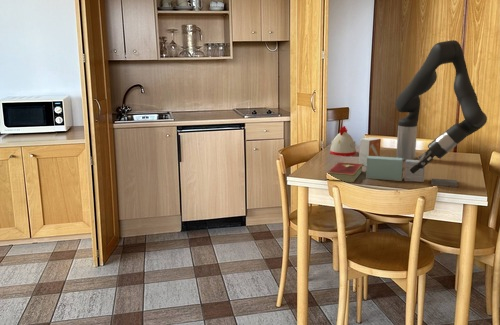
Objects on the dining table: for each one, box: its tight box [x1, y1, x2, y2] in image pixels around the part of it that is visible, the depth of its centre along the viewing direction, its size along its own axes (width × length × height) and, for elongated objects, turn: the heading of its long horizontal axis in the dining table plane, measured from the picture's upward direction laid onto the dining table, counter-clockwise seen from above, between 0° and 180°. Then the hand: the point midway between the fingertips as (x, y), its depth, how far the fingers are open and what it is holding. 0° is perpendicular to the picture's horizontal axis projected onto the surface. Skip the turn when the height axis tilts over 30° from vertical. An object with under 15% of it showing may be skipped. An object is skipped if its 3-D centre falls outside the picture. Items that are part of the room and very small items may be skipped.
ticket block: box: [365, 156, 405, 182], centre depth 209 cm, size 5×15×9 cm, turn 69°
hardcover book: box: [326, 161, 363, 183], centre depth 215 cm, size 12×21×4 cm, turn 157°
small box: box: [358, 136, 382, 167], centre depth 234 cm, size 8×6×13 cm
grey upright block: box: [404, 159, 426, 183], centre depth 205 cm, size 8×4×9 cm, turn 71°
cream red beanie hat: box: [329, 125, 357, 157], centre depth 260 cm, size 14×14×15 cm
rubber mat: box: [430, 177, 458, 188], centre depth 201 cm, size 9×10×1 cm
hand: (411, 169), depth 205 cm, fingers open, 8 cm apart
